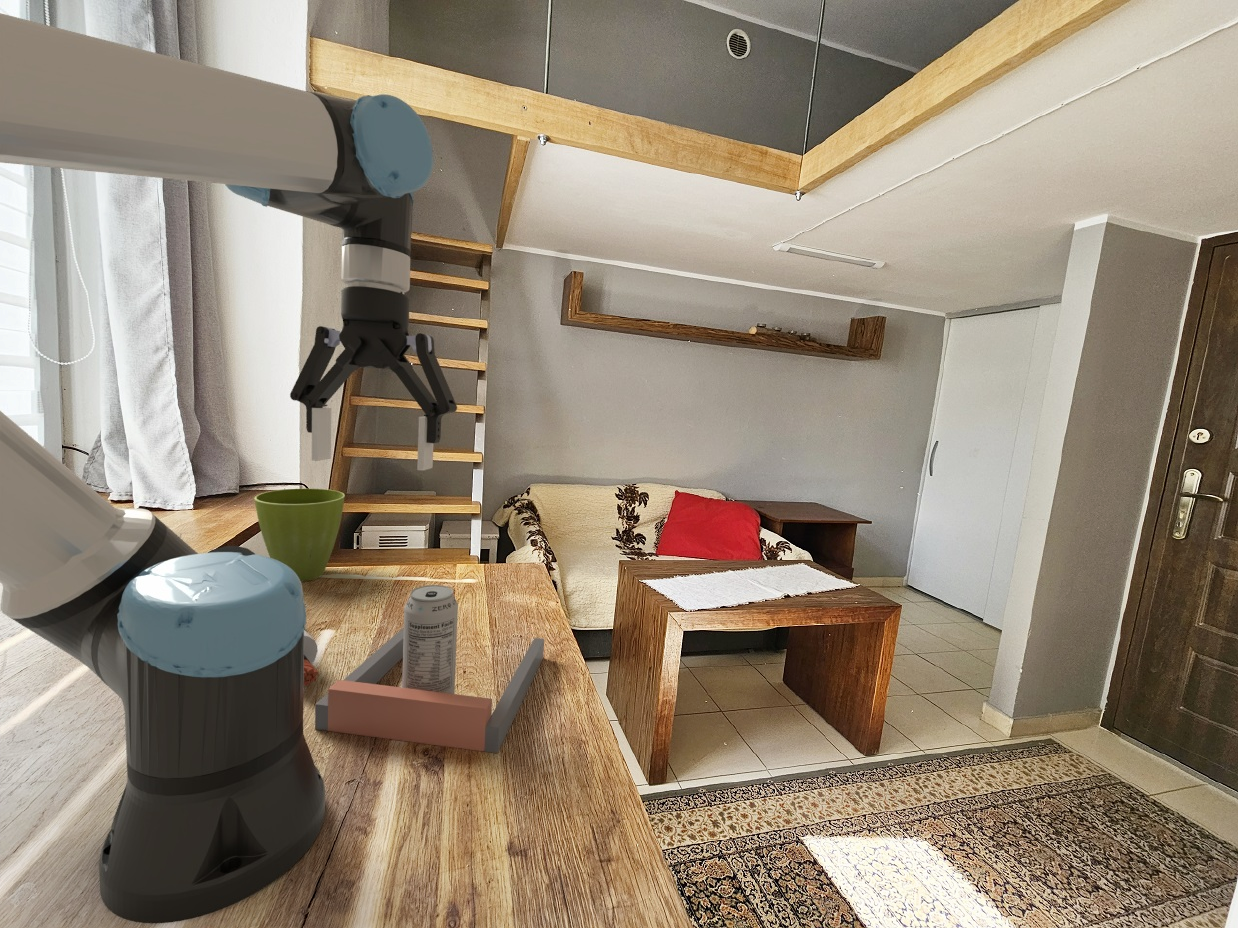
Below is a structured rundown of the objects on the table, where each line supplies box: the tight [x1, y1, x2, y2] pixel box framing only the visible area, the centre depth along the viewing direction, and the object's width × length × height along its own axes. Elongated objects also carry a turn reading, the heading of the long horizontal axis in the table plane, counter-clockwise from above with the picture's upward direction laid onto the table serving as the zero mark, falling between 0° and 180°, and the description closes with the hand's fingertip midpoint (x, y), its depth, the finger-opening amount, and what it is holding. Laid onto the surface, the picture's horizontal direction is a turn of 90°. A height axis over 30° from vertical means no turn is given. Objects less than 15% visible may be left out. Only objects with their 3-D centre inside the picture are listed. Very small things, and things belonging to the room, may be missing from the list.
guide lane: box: [314, 627, 545, 754], centre depth 71 cm, size 22×21×5 cm
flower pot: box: [254, 488, 346, 583], centre depth 105 cm, size 15×15×16 cm
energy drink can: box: [401, 584, 459, 694], centre depth 65 cm, size 6×6×15 cm
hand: (372, 464), depth 68 cm, fingers open, 13 cm apart
